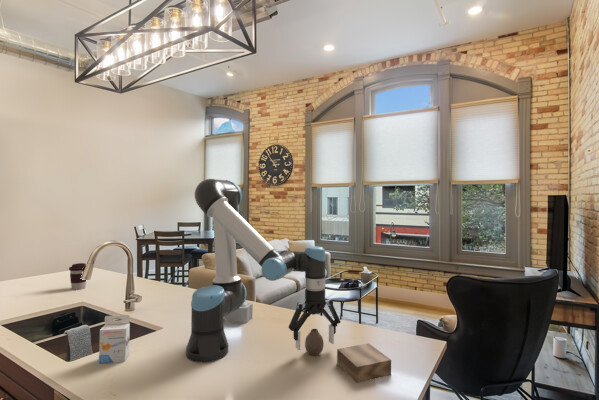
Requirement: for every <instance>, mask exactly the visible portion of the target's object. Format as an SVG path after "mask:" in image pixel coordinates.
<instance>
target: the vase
mask: <svg viewBox="0 0 599 400" xmlns="http://www.w3.org/2000/svg"><path fill="white" fill-rule="evenodd" d="M304 346H305V347H304V348H305V350H306V352H307V353H308V354H309V355H310V356H313V357H315V356H319V355H320V354H322V352H323V349H324V339H323V336H322V334H321V333H320V332H319V330H318V328H311V330H310V332H309V333H308V334H307V336H306V337H305V341H304Z"/></svg>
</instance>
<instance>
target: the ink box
mask: <svg viewBox="0 0 599 400" xmlns="http://www.w3.org/2000/svg"><path fill="white" fill-rule="evenodd" d="M118 319H119V320H118ZM130 325H131V323H130V315H129V314H123V315H122V314H118V315H117V314H116V315H105V317H104V325H103V326H102V327H101V328H100V329H99V345H98V347H99V348H98V349H99V351H98V353H99V355H98V364H109V363H121V362H122V363H123V362H124V363H125V362H126V361H127V360H128V357H129V356H130V330H131V328H130V327H131V326H130Z"/></svg>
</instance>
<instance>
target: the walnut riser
mask: <svg viewBox="0 0 599 400" xmlns="http://www.w3.org/2000/svg"><path fill="white" fill-rule="evenodd" d="M336 363H337V365H339V367H341V369H342V370H343V371H344V372H345V373H346V374H347V375H349V377H350V378H351V379H353V381H355V383H358V384H359V383H362V382H366V381H370V379H371V380H375V378H376V379H380V378H384V376H385V377H389V376H392V359H391V358H390V357H388V356H387V355H385V354H384V353H383V352H382V351H380V350H379V349H377V348H375V347H374V346H373V345H372V344H370V343H364V344H358V345H351V346H346V347H341V348H337V352H336ZM379 377H380V378H379Z"/></svg>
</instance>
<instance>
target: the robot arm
mask: <svg viewBox="0 0 599 400" xmlns="http://www.w3.org/2000/svg"><path fill="white" fill-rule="evenodd" d="M194 199H195V202H196V205H197V206H198V207H199V209H200V210H201V212H203V213H204V214H205V215H206V216H207V218H213V220H212V221H213V240H214V241H213V243H214V260H215V261H214V263H215V265H214V266H215V276H214V278H213V279H212V280H211V281H212V285H206V286H201V287H199V288H197V289H195V291H193V293H192V296H191V302H190V306H191V318H190V319H191V320H190V321H191V325H190V326H191V330H190V331H191V332H190V336H189V338H188V342H187V344H186V349H185V357H186V359H187V360H188V361H191V362H196V363H209V362H214V361H218V360H220V359H222V358H224V357H225V356H227V355H228V353H229V342H228V338H227V336H226V332H225V319H224V317H225V316H227V315H228V314H230V313H231V312H233V311H235V310H237V309H238V308H239V307H240V306H241V305H242V304H243V303H244V302H245V301H247V300H246V299H247V295H248V294H247V292H248V291H247V289H246V286H245V285H244V283H243V282H242V276H241V275H239V274H238V263H237V262H238V261H237V246H236V245H237V244H236V243H238V245H239V246H240V247H242V248H243V250H245V252H246V253H247V254H248V255H249V256H251V258H252V259H253V260H254V261H255V262H256V263H257V264H258V265H259V266H260V267H261V273H262V276H263V277H264V278H265V279H266V280H268V281H272V282H273V281H277V280H280V279H283V278H284V277H285V276H286V275H288V274H290V273H291V272H300V273H303V272H304V275H305V276H304V288H305V290H304V302H303V303H300V302H297V303H296V308H295V311H294V313H293V315H292V318H291V320H290V323H289V324H288V329H289V330H290V331H291V332H293V340H294V341H295V348H296V349H297V350H298V351H301V331H300V329H301V327H302V326H303V325H304V324H305V322H306V321H307V319H309V317H310V316H311V315H312V316H313V315H321V314H322V315H323V316H324V318H326V319H327V320H328V322H329V324H328V343H330V344H331V345H334V344H335V335H336V332H337V328H336V327H338V324H341V319H340V318H339V317H340V316H338V313H337V311H336V308H335V306H334V301H333V300H332V299H330V298H327V299H326V289H325V288H326V261H327V259H326V249H325V248H324V247H323V246H318V245H317V246H316V245H315V246H314V245H313V246H312V245H311V246H306V247H305V249H304V251H297V250H295V251H294V250H287V249H284V250H276V249H275V248H274V247H273V246H272V244H270V243H269V242H268V241H267V240H266V239H265V238H264V237H263V236H262V235H261V234H260V233H259V232H258V231H257V230H256V229H255V228H254V227H253V226H252V225H251V224H250V223H249V222H248V221H247V220H246V218H244V217H243V216H242V215H241V214H240V213H239V205H240V204H241V202H242V199H243V193H242V190H241V188H240V186H239V185H238V184H236V183H235V182H233V181H231V180H227V179H215V178H207V179H205V180H201V182H199V183H198V184H197V186H196V187H195V190H194ZM326 306H327V308H328V309H329V311H330V313H331V316H330V314H329V313H328V312H327V311H326V309H325V307H326ZM303 310H304V311H303Z"/></svg>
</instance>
